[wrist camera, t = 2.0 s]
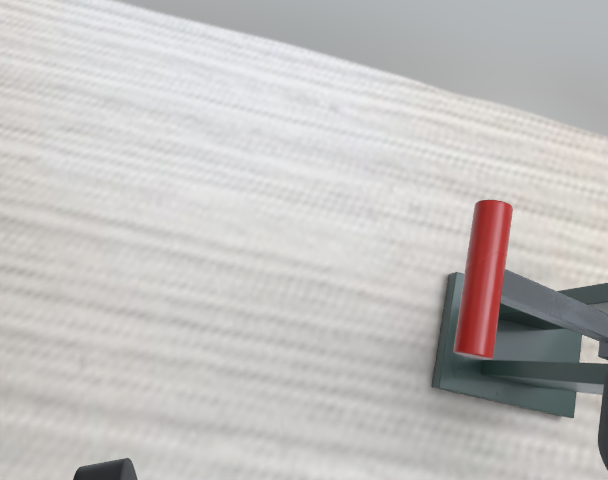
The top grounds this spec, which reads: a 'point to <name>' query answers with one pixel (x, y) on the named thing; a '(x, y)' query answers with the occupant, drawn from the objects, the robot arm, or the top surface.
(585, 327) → the lever
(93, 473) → the robot arm
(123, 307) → the top surface
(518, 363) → the bracket
